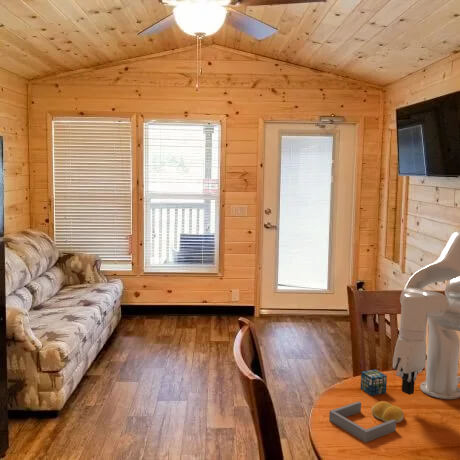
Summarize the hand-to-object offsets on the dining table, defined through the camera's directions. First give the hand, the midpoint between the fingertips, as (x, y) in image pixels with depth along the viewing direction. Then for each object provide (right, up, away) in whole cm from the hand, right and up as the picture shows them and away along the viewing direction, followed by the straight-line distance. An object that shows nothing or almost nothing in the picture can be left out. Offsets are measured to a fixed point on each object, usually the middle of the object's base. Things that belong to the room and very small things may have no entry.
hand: (407, 392), depth 156 cm
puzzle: (-7, -4, +14) cm, 16 cm away
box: (-16, -6, -9) cm, 19 cm away
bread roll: (-7, -6, -4) cm, 10 cm away
